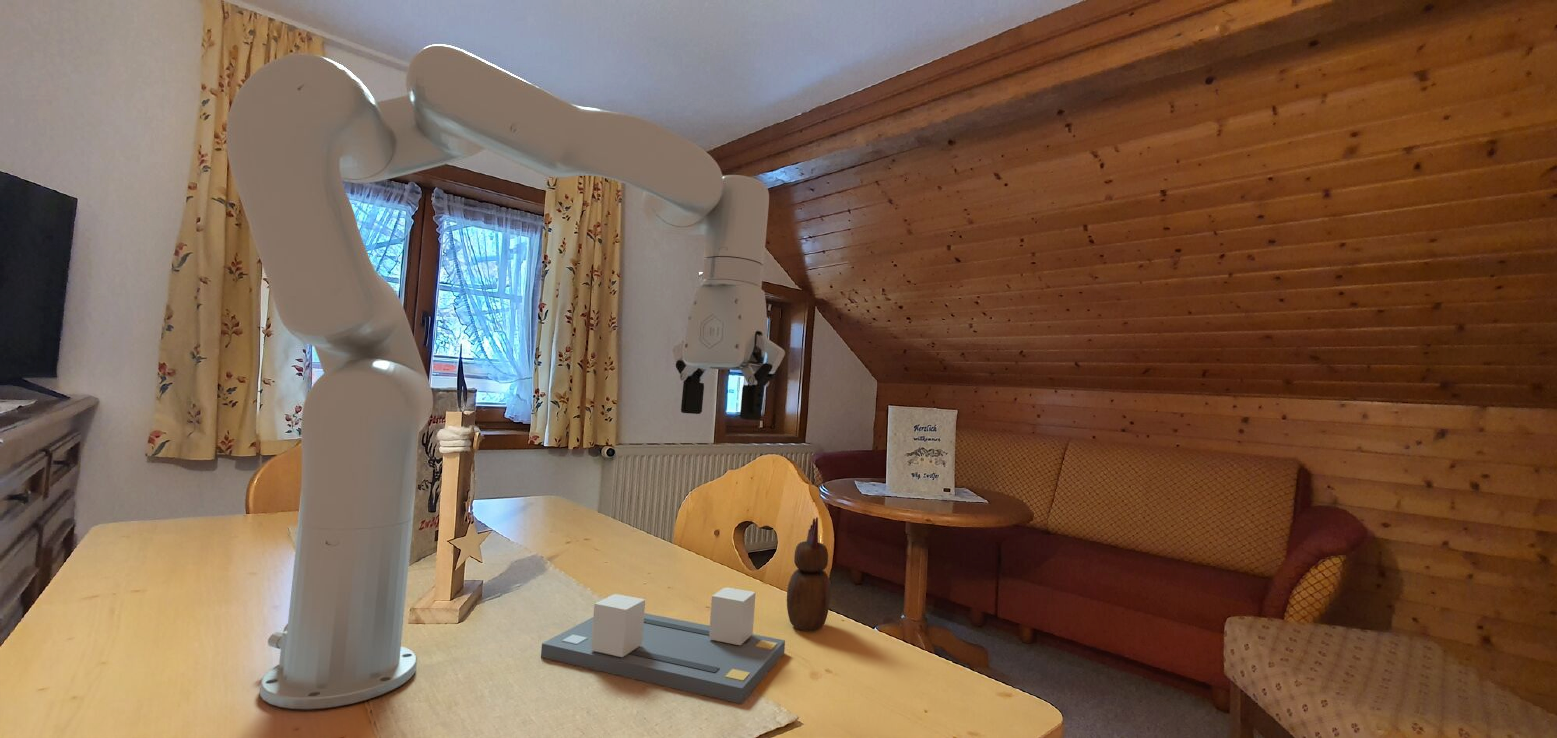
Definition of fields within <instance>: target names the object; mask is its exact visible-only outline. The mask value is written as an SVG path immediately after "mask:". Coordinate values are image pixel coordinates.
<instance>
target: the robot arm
mask: <svg viewBox="0 0 1557 738" xmlns="http://www.w3.org/2000/svg"><path fill="white" fill-rule="evenodd" d="M405 86H406V93H407V95H406V94H405V95H403V96H397V97H394V98H389V99H383V100H380V101H376V100H375V98H374V97H373V95H372V93H370V90H369V89H368V88H367V87H366V86H365V85H364V84H363V82H362V81H361V80H360V78H358V77H357V76H356V75H354V74H353V73H352V72H351V71H350V70H349V69H347V68H346V67H344V66H343V65H342V64H339V63H337V62H335V61H334V60H332V59H330V58H327V57H325V56H322V55H318V54H317V55H316V54H311V53H306V52H305V53H302V52H301V53H292V54H286V55H284V56H281V57H278V58H275V59H273V60H271V61H269V62H267V63H265V64H263V65H262V66H261V67H260V68H258V69H257V70H256V71H254V72H253V73H252V74H251V75H250V76H249V77H248V78H247V79H246V80H245V81H244V83H242V85H241V87H240V88H239V90H238V91H237V92H236V94H235V96H234V98H233V100H232V103H231V105H230V108H229V112H228V115H227V120H226V121H227V122H226V129H225V130H226V131H225V136H226V137H225V139H226V140H225V142H226V144H225V145H226V152H227V159H228V163H229V168H230V172H231V175H232V179H233V181H234V185H235V189H236V191H237V194H238V197H239V199H240V204H241V205H242V209H243V211H244V214H245V216H246V220H247V222H248V225H249V228H250V232H251V235H252V238H253V243H254V246H255V248H256V251H257V254H258V257H259V260H260V262H261V265H262V268H263V271H264V273H265V274H264V275H265V277H266V279H267V282H268V285H269V287H270V292H271V294H272V295H271V296H272V297H273V302H274V305H275V308H276V311H277V315H278V316H279V319H280V321H281V323H282V325H283V326H284V327H285V328H286V330H287V331H288V332H289V333H290V334H291V335H293V337H295V338H296V339H298V340H300V341H301V342H302V343H306V344H307V345H309V346H312V347H314V350H315V352H316V355H317V358H318V360H319V361H318V362H319V364H320V366H321V368H322V371H323V374H321V375H320V377H318V378H317V380H316V381H315V382H314V383H313V384H312V386H311V388H310V389H309V391H308V393H307V396H306V398H305V400H304V403H303V407H302V412H301V425H300V427H301V429H300V430H301V434H300V435H301V436H300V438H301V439H300V441H301V483H300V487H301V488H300V495H299V497H300V498H299V508H298V509H299V510H298V518H297V532H296V541H295V543H296V544H295V552H294V560H293V570H292V571H293V572H292V581H291V590H290V598H289V599H290V600H289V608H288V617H287V618H288V619H287V623H286V625H285V627H284V628H283V631H282V632H280V631H279V632H278V631H276V632H274V633H272V634H271V635H270V636H269V637H268V639H267V645H268V646H269V647H271V648H275V649H279V650H280V652H279V654H280V655H279V663H278V664H277V665H276V666H275V665H274V667H272V669H270V670H268V671H267V672H266V673H265V674H264V675H263V677H262V678H261V682H260V686H259V687H260V689H259V690H260V691H259V695H260V698H261V699H262V700H263V701H264V702H266V703H268V704H269V705H272V706H275V707H278V708H284V709H290V710H319V709H320V710H321V709H329V708H334V707H335V708H336V707H342V706H347V705H351V704H352V705H353V704H356V703H360V702H363V701H367V700H371V699H373V698H377V697H379V696H382V695H384V694H386V693H388V692H391V691H393V690H395V689H397V688H399V687H401V686H402V685H404V684H405V683H406V682H408V681H409V680H410V679H411V678H412V677H413V676H414V674H415V672H416V670H417V665H418V664H417V662H418V657H417V655H416V653H415V652H413V651H412V650H411V649H410V648H407V647H405V646H402V640H403V638H402V637H403V630H404V628H403V626H404V618H405V607H406V596H407V586H408V575H409V564H410V555H411V553H410V552H411V543H412V542H411V541H412V533H413V521H414V510H415V509H414V508H415V497H416V484H417V469H418V468H417V466H418V446H419V435H420V432H421V431H422V430H423V428H425V426H426V425H427V424H428V422H429V420H430V418H431V415H432V413H433V407H434V395H433V391H432V387H431V384H430V381H429V378H428V375H427V373H426V369H425V365H424V363H423V361H422V358H421V355H420V351H419V349H418V346H417V344H416V340H415V338H414V334H413V332H412V329H411V326H410V323H409V320H408V317H407V315H406V311H405V309H404V306H403V304H402V301H401V299H400V297H399V295H398V294H397V292H396V291H395V289H394V287H393V286H392V285H391V284H390V283H389V282H387V281H388V280H386V279H385V278H384V277H382V276H381V275H380V273H378V272H377V270H376V269H375V267H374V265H373V263H372V260H371V259H370V256H369V254H368V251H367V248H366V246H365V243H364V240H363V238H362V235H361V232H360V229H359V225H358V223H357V219H356V214H355V212H354V209H353V206H352V203H351V201H350V199H349V196H348V194H347V192H346V189H345V186H344V183H343V182H347V183H354V184H371V183H376V182H382V181H385V180H389V179H393V178H398V177H402V176H406V175H409V174H414V173H417V172H422V171H424V170H429V169H432V168H437V167H439V166H440V167H441V166H444V165H448V164H451V163H452V164H453V163H454V162H457V161H462V160H464V159H467V158H470V157H473V156H475V155H477V154H479V153H480V152H481V153H482V151H484V150H487V151H488V152H490V153H494V154H495V155H498V156H500V157H502V158H504V159H507V160H508V161H511V162H513V163H516V164H517V165H519V166H522V167H524V168H527V169H529V170H531V171H534V172H535V173H537V174H539V175H542V176H545V177H547V178H555V179H565V178H566V179H567V178H573V177H581V176H582V177H583V176H591V177H592V176H593V177H600V178H605V179H610V180H613V181H617V182H619V183H622V184H625V185H628V186H631V187H633V188H635V189H637V190H640V191H641V192H643V194H642V196H641V207H642V212H643V215H644V216H645V218H646V219H647V221H648V222H649V224H650V225H651V226H653V227H654V228H656V229H657V230H659V231H661V232H665V233H668V234H675V235H703V236H704V238H705V239H704V246H703V247H704V248H703V258H702V259H703V260H702V269H701V271H699V273H698V280H699V282H700V286H697V287H696V288H695V291H694V293H693V296H692V300H691V303H690V308H689V312H688V317H687V322H686V326H685V334H684V340H681V341H680V343H678V344H676V345H675V346H673V349H672V354H673V357H674V361H675V362H676V363H675V367H676V370H677V371H678V373H679V379H680V381H681V382H683V384H682V395H681V397H682V398H681V406H680V412H681V413H682V414H690V415H693V414H694V415H701V413H702V412H703V402H704V401H703V400H704V392H705V383H703V382H701V381H702V380H703V378H704V377H705V376H706V374H707V373H708V371H709V370H710V369H713V370H729V371H741V375H743V377H744V380H745V381H746V383H747V384H743V385H742V390H741V401H740V402H741V403H740V414H739V417H740V418H741V420H746V421H747V420H749V421H760V420H761V418H762V411H763V403H764V394H765V393H764V392H765V390H764V389H765V388H768V386H769V385H770V381H771V379H773V377H775V375H776V374H777V373H778V370H779V369H778V367H780V365H781V363H782V361H783V359H784V357H785V355H786V352H785V350H784V349H783V348H782V347H781V346H779V345H778V344H776V343H774V342H773V341H771V340H770V339H769V338H768V337H767V336H768V333H767V332H768V331H767V330H768V329H767V328H768V324H767V323H768V322H767V321H768V320H767V319H768V317H767V303H766V295H765V290H763V289H762V286H763V273H764V264H765V251H766V250H765V249H766V241H767V240H766V239H767V230H768V229H767V228H768V227H767V226H768V218H769V215H768V214H769V205H770V193H769V190H768V188H767V186H766V185H765V183H763V182H762V181H761V180H759V179H756V178H755V177H752V176H747V175H743V174H742V175H741V174H740V175H739V174H728V175H723V173H722V170H721V167H720V166H719V164H718V163H717V161H716V160H715V159H714V158H713V157H712V156H711V154H709V153H708V152H706V151H705V149H703V148H702V147H700V146H698V145H697V144H695V143H694V142H692V141H690V140H688V139H686V138H684V137H683V136H681V135H679V134H677V133H676V132H672V131H671V130H669V129H667V128H665V127H663V126H661V125H658V124H657V123H654V122H652V121H649V120H647V119H644V118H641V117H639V116H634V115H630V114H625V113H621V112H617V111H610V110H605V109H601V108H595V107H585V106H580V105H577V104H574V103H572V102H569V101H567V100H565V99H563V98H561V97H559V96H556V94H553V93H551V92H549V91H546V90H545V89H543V88H541V87H538V86H537V85H534V84H533V83H530V82H529V81H526V80H524V79H523V78H520V77H518V76H516V75H514V74H512V73H510V72H509V71H506V70H504V69H502V68H500V67H498V66H497V65H495V64H492V63H490V62H488V61H486V60H485V59H483V58H480V57H479V56H476V55H474V54H472V53H470V52H467V50H464V49H462V48H461V49H460V48H458V47H455V46H452V45H448V44H437V43H436V44H432V45H428V46H426V47H424V48H421V50H419V51H418V52H416V53H415V54H414V55H413V57H412V59H411V61H410V63H409V65H408V68H407V72H406V77H405ZM766 355H767V356H766ZM765 358H766V359H765Z"/></svg>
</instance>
